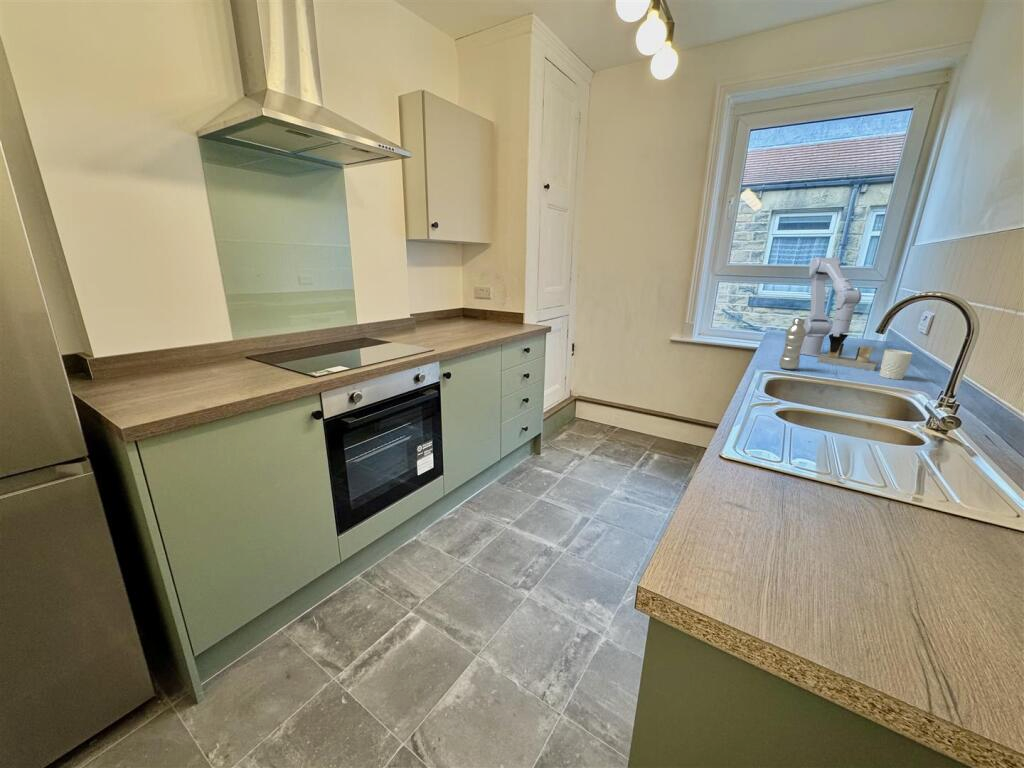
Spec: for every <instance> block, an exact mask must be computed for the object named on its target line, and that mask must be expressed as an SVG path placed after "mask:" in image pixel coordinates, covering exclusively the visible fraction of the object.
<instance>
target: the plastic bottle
mask: <svg viewBox="0 0 1024 768" xmlns="http://www.w3.org/2000/svg"><path fill="white" fill-rule="evenodd" d="M804 322H805V318H796V317H795V318H793V320H792V325H790V326H789V328H787V330H786V331H785V342H784V349H783V351H782V355H781V357H780V359H779V362H778V363H779V367H780V368H782V369H784V370H796V369H798V368H799V366H800V355H801V354H800V350H801V346H802V343H803V340H804V338H805V336H806V331H805V328H804V327H803V324H804Z"/></svg>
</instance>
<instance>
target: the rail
mask: <svg viewBox="0 0 1024 768" xmlns="http://www.w3.org/2000/svg"><path fill="white" fill-rule="evenodd" d="M827 356H828V353H822V354H821V355H820V356H818V357H817V360H816V363H819V362H820V364H827V365H832V364H833V366H838V365H839V367H844V366H845V368H851V367H852V369H857V368H858V370H863V369H865V371H870V370H872V371H871V372H875V370H876V369H875V368H877V365H878V361H877V360H876V361H874V360H869V362H868V363H866V362H859V361H857V360H855V359H856V357H855V358H854V357H847V356H842V355H841V356H839V358H832V357H827Z"/></svg>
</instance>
